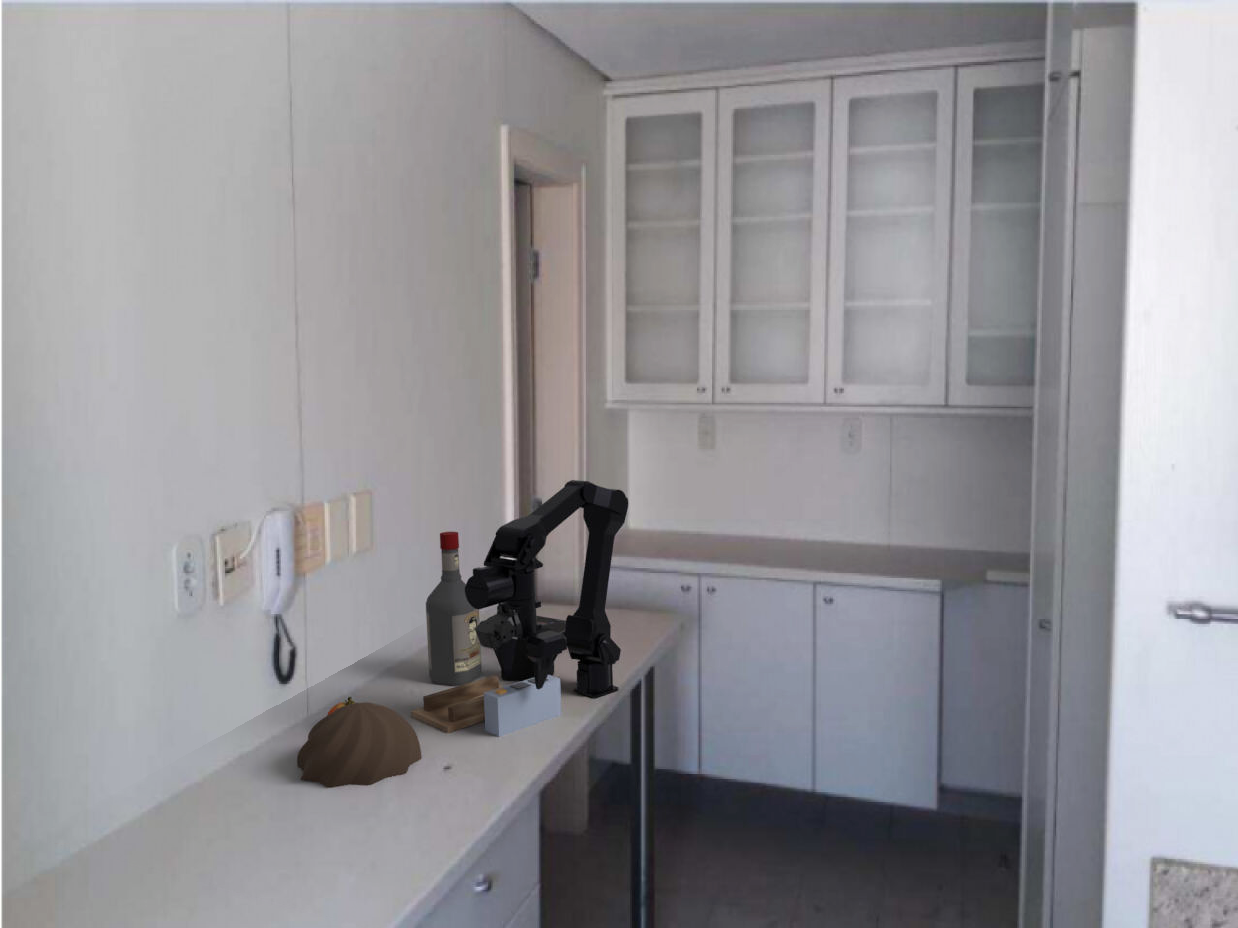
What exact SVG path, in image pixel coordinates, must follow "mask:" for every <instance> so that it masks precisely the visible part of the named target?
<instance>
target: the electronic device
mask: <svg viewBox="0 0 1238 928" xmlns="http://www.w3.org/2000/svg"><path fill="white" fill-rule="evenodd" d="M546 631H552V630H551V629H550V628H542V630H539V631H536V633H535V634H539V633H542V632H546ZM525 637H526V636H525ZM526 654H529V651H528V650H527V645H526V643H525V642H522V641H519V640H516V645H515V651H514V658H513V665H512V670H511V674H510V677H508V678H505V677H504V676H503V673H502V670H501V669H500V675H501V679H502V680H503V681H506V682H521V681H524V680H527V679H531V678H534V669H533V662H532V660H531V659H530V658H529V657H528V656H527V655H526ZM554 674H555V662H554V663H553V665H552V667H551V669H550V671H549V674H548V675H551V676H554Z"/></svg>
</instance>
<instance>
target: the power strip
mask: <svg viewBox="0 0 1238 928" xmlns="http://www.w3.org/2000/svg"><path fill="white" fill-rule="evenodd" d="M504 686H505V687H501V688H498V689H495V690H492V691H488V692H485V693H484V711H485V721H484V729H485V730H484V731H485V732H486V733H489V734H491V735H494V736H496V737H499V738H501V737H503V736H505V735H509V734H512V733H515V732H517V731H521V730H523V729H526V728H529V727H532V726H535V725H538V724H540V723H543V722H546V721H549V720H551V719H554V718H559V717H560V716H562V696H561V695H562V694H561V693H562V692H561V678H560V677H557V676H554V675H553V676H551V675H548V676H547V678H546V681H545V683H544V685H543V687H542V688H541V689H536V684H535V678H531V679H527V680H524V681H517V682H515V683H512V684H508V685H504Z"/></svg>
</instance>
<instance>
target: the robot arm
mask: <svg viewBox="0 0 1238 928" xmlns="http://www.w3.org/2000/svg"><path fill="white" fill-rule="evenodd" d="M579 509H583V512H582V513H583V514H582V518H583V520H584V523H585V525H586V526H585V527H586V529H587V531H588V539H587V547H586V552H585V553H586V554H585V559H584V567H583V568H584V569H583V574H582V575H583V576H582V583H581V590H580V598H579V605H578V607H577V609H576V610H575V611H574V613H573V615H572V614H568V615H567V616H566V618H565V621H566V629H565V632H564V635H563V634H561V633H557V632H554V631H546V632H542V633H539V634H535V633H536V631H539V630H542V624H539V623H537V617H536V616H537V609H539V608H541V607H542V601H541V600H537V597H536V592H537V591H536V573H535V572H536V570H537V569H540V568H543V567H544V563H543V562H541V561H540V560H539V559H538V558H536V557H537V555H538V554H539V553H540V552H541V551H542V550H543V548H544V547H545V545H546V543H547V538H548V536H549V535H550V534H551V532H553V531H554V530H555V529H556V528H558V527H559V526H560V525H561V524H563V522H565V521H566V520H567V519H569V517H571V516H572V515H573V514H574V513H575V512H577V511H578V510H579ZM628 510H629V498H628V497H627V495H626V494H625V492H624V491H623V490H621V489H616V488H615V489H614V488H607V487H603V486H600V485H596V484H595V483H593V482H591V481H588V480H579V479H578V480H575V479H571V480H569V481H566V483H565V484H564V486H563V487H562V488H561V489H560V490H559V491H557V492H556V493H554V495H553V496H551V497H550V498H548V499H547V500H546V501H544V503H542V504H541V505H540V506H539V507H537V508H536V509H534V511H532V512H531V513H530V514H528V515H527V516H524V517H520V518H516V519H513V520H510V521H508V522H507V523H505V524H503V525H501V526H500V527H499V528H498V529H497V530H496V532H495V537H494V539H493V541H492V544H490V545H491V546H490V548H489V550H488V552H487V555H486V557H485V559H484V561H483V566H484V567H475V568H474V567H473V569H472V576H470V577H469V578H468V579H467V581H466V583H465V584H466V587H465V595H466V598H467V600H468V602H469V604H470V605H471V606H472V607H473V608H475V609H479V610H483V609H485V608H490V607H492V606H496V605H497V606H496V613H495V614H494V615H491V616H490V617H488V618H486V619H484V620H481V621H480V624H479V625H478V626H476V627H475V631H476V634H477V636H478V639H479V642H480V644H481V646H483V645H485V646H489V647H490V649H492V650H493V652H494V654H495V658H496V660H497V662H498V665H499V667H500V671H501V670H502V673H503V676H504V677H505V678H508V677H510V674H511V670H512V665H513V658H514V651H515V645H516V640H519V641H522V642H525V643H526V645H527V650H528V651H529V654H526V655H527V656H528V657H529V658H530V659H531V660H532V662H533V669H534V678H535V684H536V689H541V688H542V687H543V685H544V683H545V681H546V678H547V676H548V674H549V671H550V669H551V667H552V665H553V663H554V664H555V661H556V659H557V657H558V656H559V655H560V654H563V651H567V650H568V654H569V657H570V659H571V660H577V670H576V686H575V687H573V689H572V691H573V692H576V693H579V694H582V695H584V696H588V697H591V698H593V699H595V698H598V697H602V696H604V695H608V694H610V693H614V692H617V691H619V690H620V689H619V686H616V685H614V684H613V683H614V682H613V680H614V676H613V673H614V672H613V671H614V670H613V665H615V664H616V662H618V661H619V660H620V657H621V651H622V649H621V648H620V647H619V646H618V645H617V643H616V642H615V641H614V640H613V639H612V638H611V635H612V634H611V633H612V632H611V627H612V626H611V623H610V620H609V617H608V616H607V612H606V602H607V595H608V588H609V580H610V573H611V566H612V557H613V551H614V544H615V537H616V535H617V533H618V532H619V531H620V529H621V528H622V527H623V525H624V524H625V521H626V517H627V513H628ZM525 636H526V637H525ZM489 647H488V648H489Z"/></svg>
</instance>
